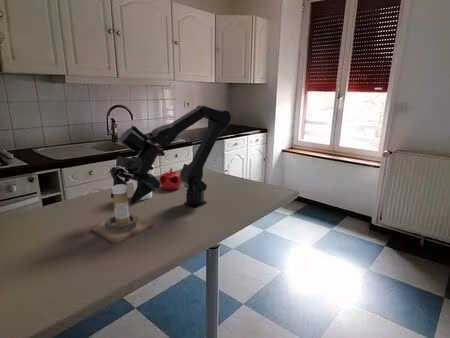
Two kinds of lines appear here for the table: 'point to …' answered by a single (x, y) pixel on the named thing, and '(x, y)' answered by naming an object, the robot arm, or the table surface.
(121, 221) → the sprinkles bottle
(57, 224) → the table surface
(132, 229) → the collar plate
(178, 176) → the pomegranate
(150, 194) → the foam cup
